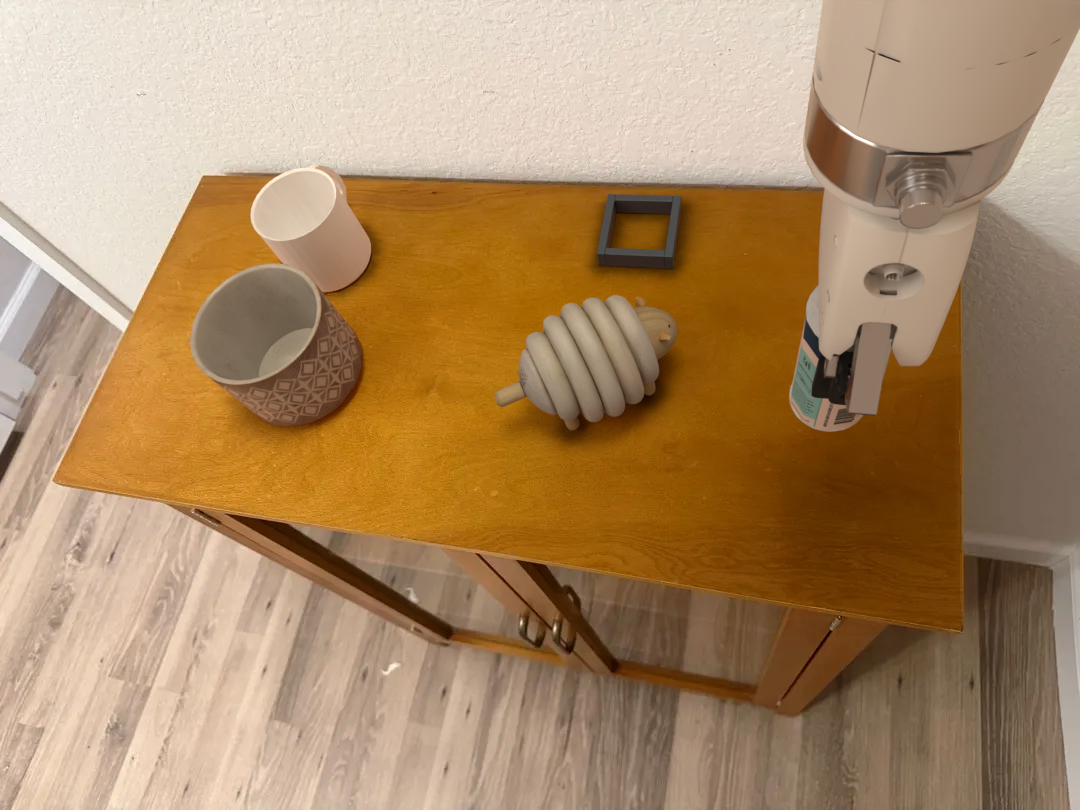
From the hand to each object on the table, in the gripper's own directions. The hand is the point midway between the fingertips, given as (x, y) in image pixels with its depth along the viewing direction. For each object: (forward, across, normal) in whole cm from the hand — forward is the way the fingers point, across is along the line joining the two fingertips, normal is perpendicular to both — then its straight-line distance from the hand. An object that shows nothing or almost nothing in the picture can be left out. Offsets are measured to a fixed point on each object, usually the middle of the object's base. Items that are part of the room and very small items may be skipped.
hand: (842, 350), depth 44 cm
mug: (+22, +22, +49) cm, 58 cm away
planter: (+22, +6, +48) cm, 54 cm away
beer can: (+7, 0, 0) cm, 7 cm away
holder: (+23, +24, +16) cm, 37 cm away
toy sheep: (+23, +7, +18) cm, 30 cm away
